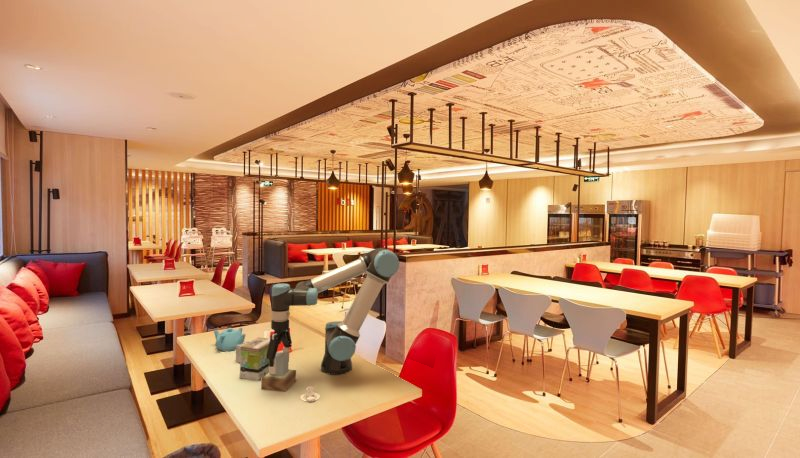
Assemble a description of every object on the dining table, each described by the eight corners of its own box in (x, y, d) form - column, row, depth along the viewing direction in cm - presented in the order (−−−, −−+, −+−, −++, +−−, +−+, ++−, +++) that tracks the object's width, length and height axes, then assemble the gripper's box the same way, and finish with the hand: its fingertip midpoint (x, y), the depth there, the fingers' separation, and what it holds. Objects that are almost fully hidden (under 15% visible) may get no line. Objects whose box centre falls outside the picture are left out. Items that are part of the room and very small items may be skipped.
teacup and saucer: (314, 404, 161) (314, 394, 161) (296, 402, 162) (296, 392, 162) (322, 394, 170) (322, 385, 169) (304, 392, 171) (305, 383, 171)
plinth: (295, 381, 181) (296, 369, 181) (285, 391, 170) (285, 379, 170) (272, 378, 183) (273, 367, 183) (261, 389, 172) (261, 376, 172)
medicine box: (241, 364, 199) (241, 346, 199) (235, 361, 201) (235, 344, 201) (254, 359, 206) (254, 342, 205) (248, 357, 208) (249, 340, 208)
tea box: (259, 380, 180) (259, 348, 180) (239, 378, 182) (239, 346, 182) (276, 368, 195) (276, 338, 194) (257, 366, 197) (257, 336, 196)
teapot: (213, 345, 225) (213, 326, 224) (242, 341, 232) (242, 323, 232) (215, 353, 212) (215, 333, 211) (245, 350, 219) (246, 330, 218)
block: (275, 369, 180) (276, 352, 180) (288, 370, 179) (288, 353, 179) (269, 374, 174) (269, 356, 174) (282, 376, 173) (282, 357, 173)
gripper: (275, 328, 163) (274, 379, 163) (299, 313, 187) (298, 357, 188) (258, 326, 164) (257, 377, 165) (284, 311, 188) (283, 356, 189)
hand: (279, 367), depth 176 cm, fingers open, 13 cm apart
